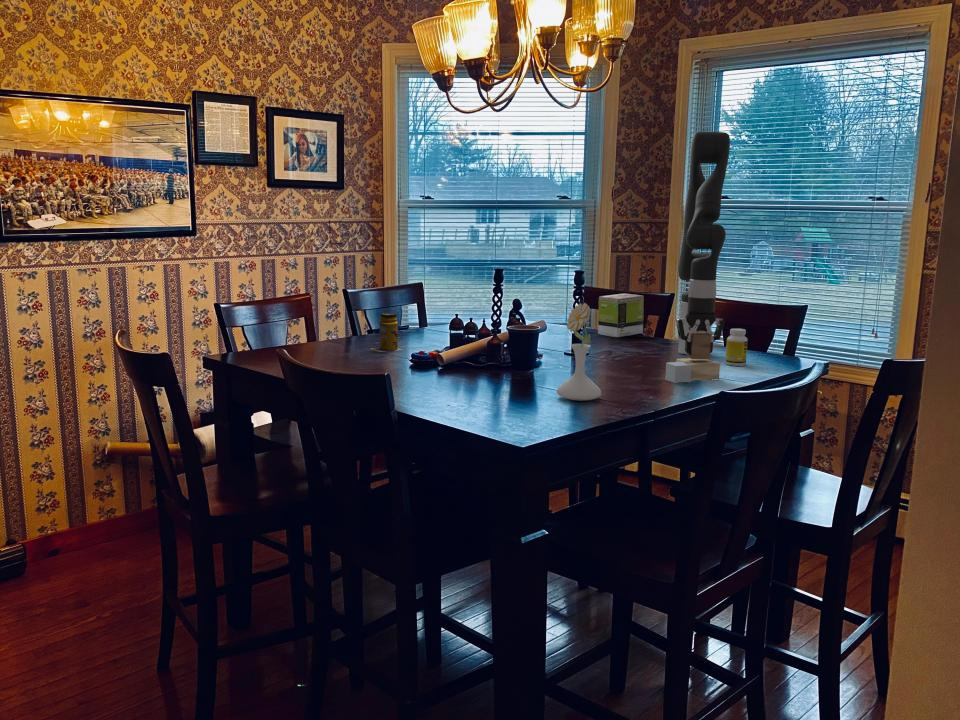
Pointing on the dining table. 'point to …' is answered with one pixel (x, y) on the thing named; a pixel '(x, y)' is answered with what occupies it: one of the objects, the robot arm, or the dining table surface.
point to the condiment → (388, 333)
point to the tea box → (620, 315)
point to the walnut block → (700, 346)
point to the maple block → (702, 368)
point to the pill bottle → (736, 348)
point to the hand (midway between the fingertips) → (698, 354)
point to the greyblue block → (678, 372)
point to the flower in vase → (579, 360)
